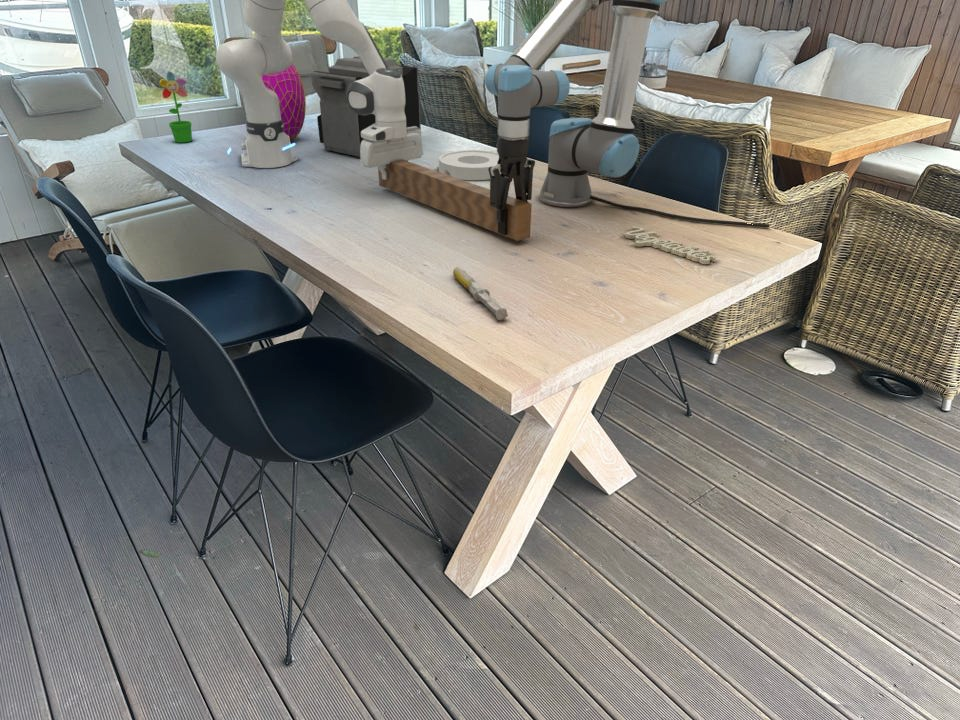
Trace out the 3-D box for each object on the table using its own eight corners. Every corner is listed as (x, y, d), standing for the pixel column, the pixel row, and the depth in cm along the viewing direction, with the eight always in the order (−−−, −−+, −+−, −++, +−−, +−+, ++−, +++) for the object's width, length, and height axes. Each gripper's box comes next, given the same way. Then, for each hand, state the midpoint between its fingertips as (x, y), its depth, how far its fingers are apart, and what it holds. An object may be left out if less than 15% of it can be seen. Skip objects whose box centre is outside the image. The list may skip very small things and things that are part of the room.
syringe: (449, 274, 155) (449, 263, 153) (465, 272, 156) (464, 260, 154) (490, 323, 135) (491, 310, 133) (508, 319, 136) (508, 307, 134)
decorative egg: (293, 132, 276) (283, 50, 261) (319, 140, 264) (310, 56, 249) (249, 139, 265) (236, 54, 250) (273, 148, 253) (261, 60, 238)
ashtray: (441, 160, 240) (441, 149, 238) (507, 162, 240) (508, 150, 237) (436, 179, 220) (435, 167, 218) (508, 180, 220) (508, 168, 218)
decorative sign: (611, 234, 176) (635, 225, 181) (610, 237, 176) (634, 229, 182) (700, 264, 159) (723, 254, 164) (699, 268, 159) (723, 257, 165)
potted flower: (172, 144, 257) (157, 72, 244) (170, 139, 263) (155, 69, 250) (199, 141, 260) (185, 71, 248) (196, 137, 266) (182, 68, 254)
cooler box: (383, 133, 276) (378, 52, 261) (425, 141, 265) (422, 56, 250) (314, 150, 251) (304, 61, 235) (358, 160, 240) (350, 67, 224)
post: (530, 236, 172) (531, 203, 168) (517, 240, 170) (518, 207, 165) (391, 183, 212) (390, 155, 207) (379, 185, 209) (377, 157, 205)
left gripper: (414, 123, 206) (415, 169, 213) (355, 132, 195) (359, 180, 202) (426, 126, 202) (427, 173, 209) (367, 136, 191) (371, 185, 198)
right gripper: (528, 128, 169) (524, 220, 181) (474, 139, 159) (474, 234, 171) (550, 134, 165) (545, 227, 176) (496, 145, 155) (494, 243, 166)
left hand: (393, 177), depth 206 cm, fingers closed on post, 4 cm apart
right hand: (510, 230), depth 174 cm, fingers closed on post, 5 cm apart
